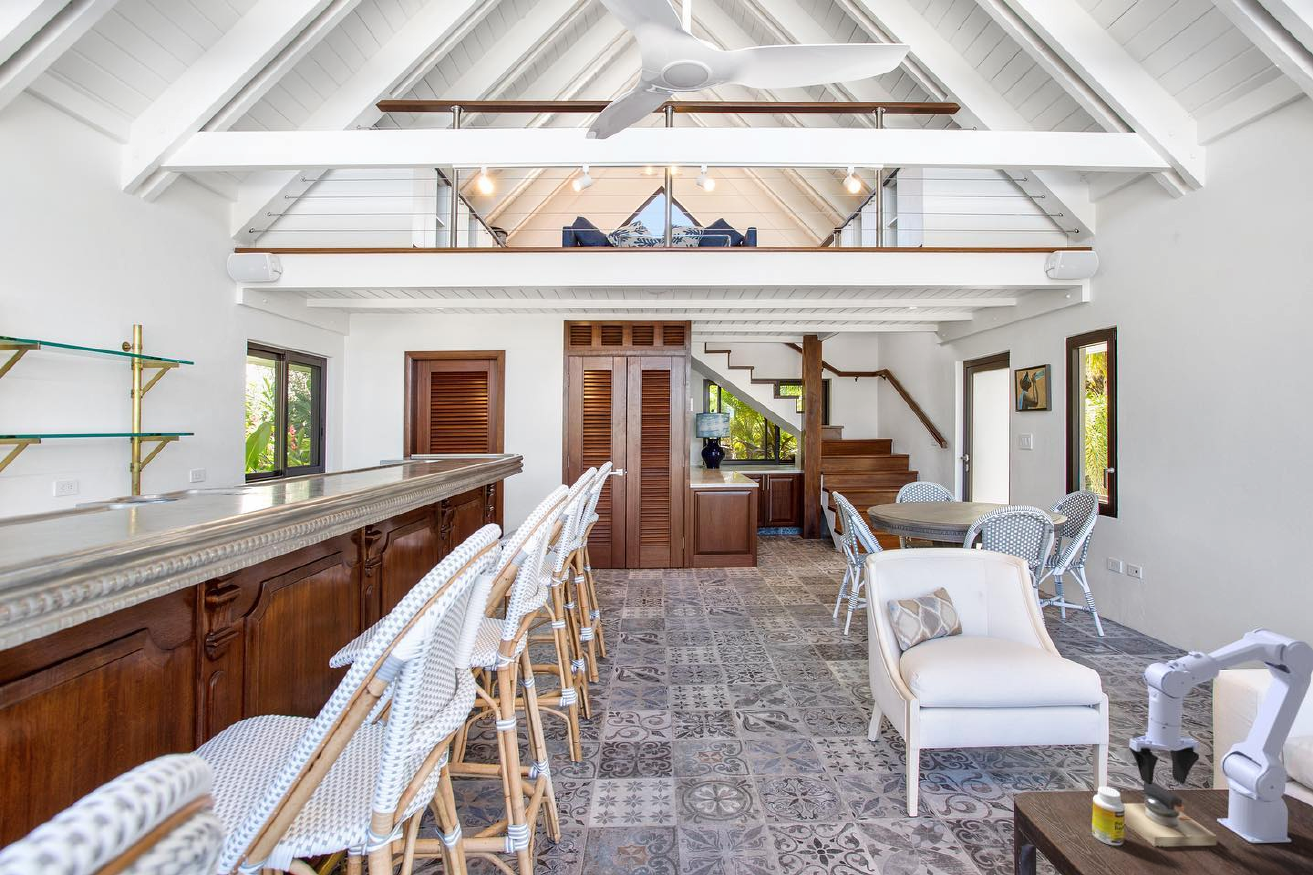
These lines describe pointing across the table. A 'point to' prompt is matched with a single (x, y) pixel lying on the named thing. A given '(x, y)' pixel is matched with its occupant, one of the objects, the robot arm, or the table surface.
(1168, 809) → the rotary knob
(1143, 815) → the cream base plate
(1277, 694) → the robot arm
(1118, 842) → the supplement bottle
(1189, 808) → the table surface
